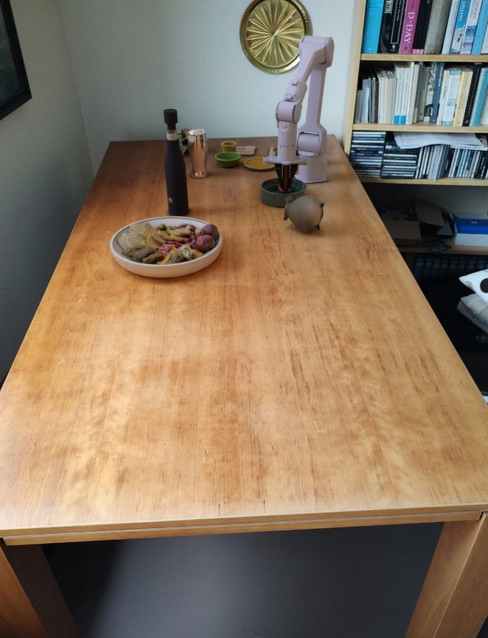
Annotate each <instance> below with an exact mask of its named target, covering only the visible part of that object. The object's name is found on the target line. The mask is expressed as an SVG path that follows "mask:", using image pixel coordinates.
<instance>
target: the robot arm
mask: <svg viewBox="0 0 488 638" xmlns="http://www.w3.org/2000/svg"><path fill="white" fill-rule="evenodd" d="M334 54H335V41H334V39H333V37H332V36H320V35H319V36H317V35H307V34H303V35H302V36H301V37H300V38H299V42H298V57H299V62H298V65H297V70H296V72H295V77H293V78H291V79H290V81H289V83H288V85H287V87H286V91H285V93H284V96H283V98H282V100H281V101H279V102H278V103H277V105H276V107H275V113H274V116H275V117H274V118H275V121H276V128H277V154H276V155H275V156H272V157H269V156H262V157H263V165H267V164H268V165H275V167H274V168H273V169H274V171H275V173H276V176H277V177H278V179H279V183H280V188H282V175H283V165H290V173H289V189H291V185H292V181H293V178H295V179H299V180H301V181H303V182H304V183H305V184H306V185H307V184H312V183H321V182H326V181H328V180H327V174H328V173H327V172H328V156H327V153H326V151H325V149H326V150H327V145H328V139H327V137H328V131H327V129H326V128H325V127H324V126H323V125H322V124H321V117H322V107H323V98H324V92H325V83H326V76H327V69H328V68H331V67H332V66H333V62H334V61H333V60H334ZM308 79H309V85H308V84H307V81H308ZM308 86H309V87H308ZM307 92H308V94H307V95H308V96H307V104H306V106H307V107H306V114H305V122H304V123H302V124H301V125H300V126H299V127H298V124H299V122H300V120H301V116H302V110H303V102H304V99H305V97H306V93H307ZM296 150H297V151H298V154H300V157H298V156H296ZM324 151H325V153H324ZM297 172H298V174H297Z"/></svg>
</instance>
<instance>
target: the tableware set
mask: <svg viewBox="0 0 488 638" xmlns="http://www.w3.org/2000/svg"><path fill="white" fill-rule="evenodd" d="M256 149H257V147H256V146H254V145H247V146H238V143H237V141H233V140H226V141H222V142H221V150H222V151H220V152H217V153H215V155H214V159H215V160H216V161H217V163H218V165H219V166H220V167H222V168H234V167H236V166H237V165H238V162H239V160H241V158H242V156H254V155H255V151H256ZM326 150H327V148H326V149H325V151H324V153H325V154H326V152H327V151H326ZM276 155H277V154H276V151H275V147H274V146H271V147H270V148H269V153H268V157H272V156H276ZM296 156H298V157H300V154H298V151H297V150H296ZM263 157H264V156H256V157H250V158H247V159H245V160H244V161H243V165H244V166H245V167H246V168H247V169H248V170H251V171H256V172H264V171H270V170H273V169H274V167H275V165H268V164H267V165H263Z"/></svg>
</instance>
